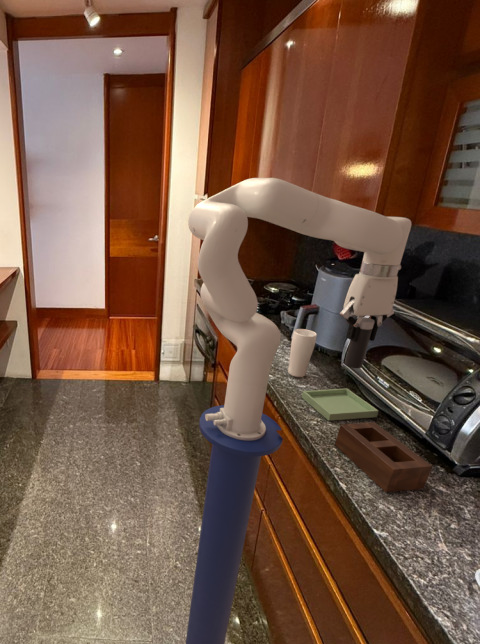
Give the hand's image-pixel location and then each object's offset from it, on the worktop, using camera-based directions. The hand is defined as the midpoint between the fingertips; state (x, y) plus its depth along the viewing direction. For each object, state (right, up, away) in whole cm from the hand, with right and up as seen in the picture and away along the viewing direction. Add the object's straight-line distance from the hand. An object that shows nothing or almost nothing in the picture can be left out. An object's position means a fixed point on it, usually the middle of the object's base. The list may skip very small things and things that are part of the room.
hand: (359, 338), depth 101 cm
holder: (-5, -29, -13) cm, 32 cm away
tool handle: (0, -7, +3) cm, 8 cm away
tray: (0, -20, +10) cm, 22 cm away
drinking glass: (-2, -12, +28) cm, 31 cm away
